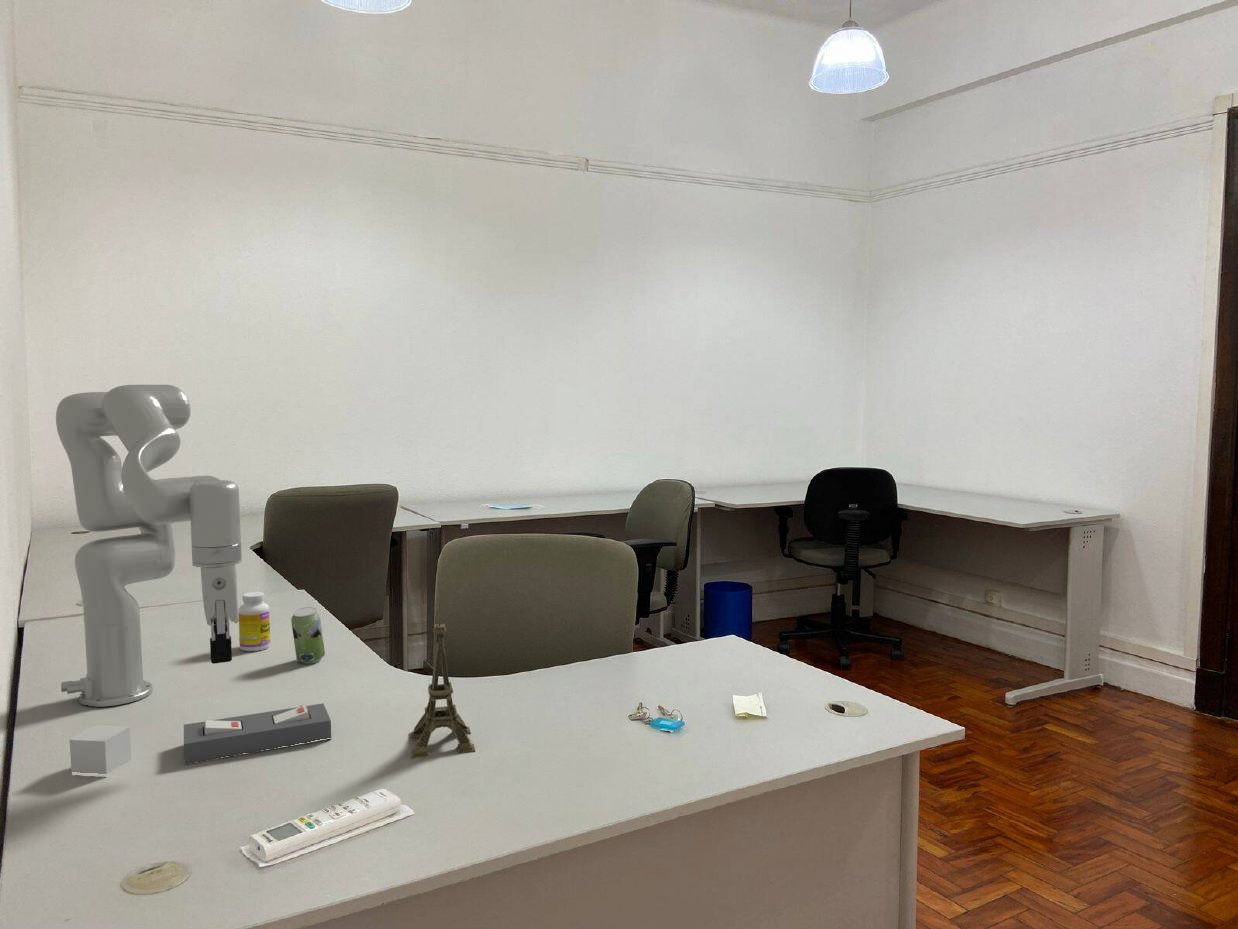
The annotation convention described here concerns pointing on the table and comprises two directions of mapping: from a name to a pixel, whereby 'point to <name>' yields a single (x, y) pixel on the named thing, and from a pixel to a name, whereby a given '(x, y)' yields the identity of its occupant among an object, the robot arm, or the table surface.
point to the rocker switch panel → (255, 734)
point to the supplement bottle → (254, 623)
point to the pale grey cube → (100, 749)
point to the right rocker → (292, 715)
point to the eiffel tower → (440, 715)
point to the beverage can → (307, 635)
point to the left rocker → (221, 726)
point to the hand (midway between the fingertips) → (221, 661)
